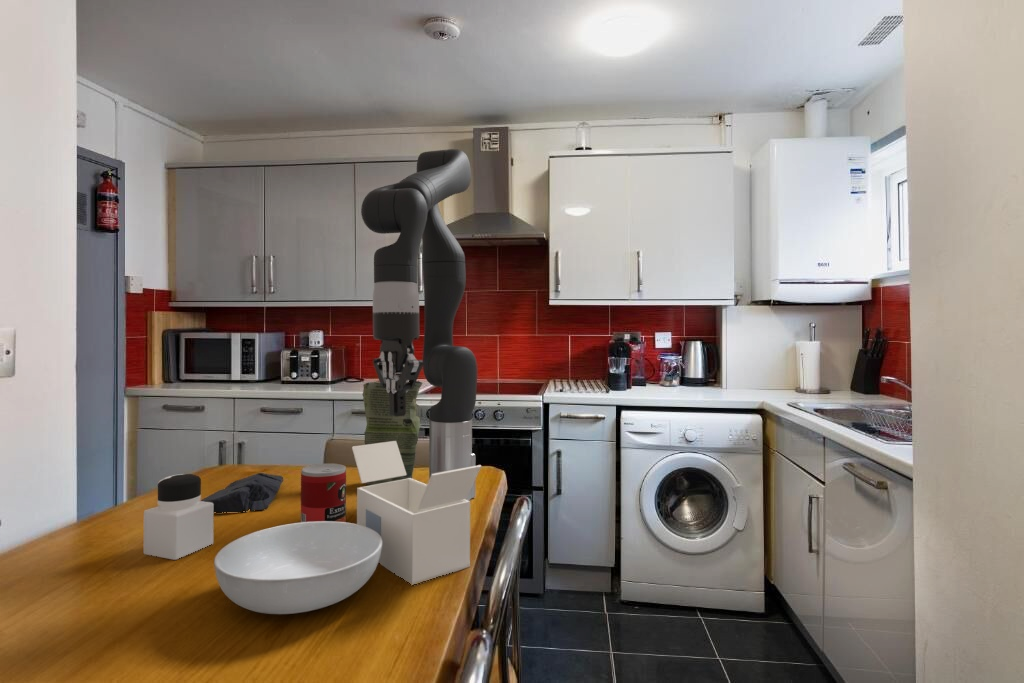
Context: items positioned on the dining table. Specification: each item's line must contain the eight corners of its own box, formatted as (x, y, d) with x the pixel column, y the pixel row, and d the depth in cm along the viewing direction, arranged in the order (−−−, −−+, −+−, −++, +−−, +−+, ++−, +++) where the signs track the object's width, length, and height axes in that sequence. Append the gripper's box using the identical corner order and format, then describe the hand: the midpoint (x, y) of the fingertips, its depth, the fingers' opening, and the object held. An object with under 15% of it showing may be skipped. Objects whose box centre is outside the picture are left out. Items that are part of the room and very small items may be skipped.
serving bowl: (386, 624, 65) (386, 568, 65) (193, 651, 60) (193, 589, 60) (379, 557, 85) (379, 514, 85) (233, 572, 80) (233, 526, 80)
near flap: (417, 508, 76) (418, 509, 76) (431, 473, 73) (432, 475, 73) (465, 497, 81) (466, 498, 81) (480, 464, 79) (481, 466, 78)
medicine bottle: (214, 544, 90) (214, 473, 90) (175, 561, 83) (175, 484, 83) (182, 539, 92) (183, 469, 92) (142, 554, 86) (142, 479, 86)
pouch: (356, 484, 128) (357, 379, 128) (397, 475, 137) (397, 377, 137) (385, 493, 120) (385, 382, 120) (426, 483, 129) (426, 379, 129)
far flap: (406, 474, 95) (406, 475, 95) (396, 440, 98) (395, 441, 98) (362, 482, 89) (361, 483, 90) (352, 446, 92) (351, 447, 92)
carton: (409, 534, 96) (410, 477, 96) (469, 566, 82) (470, 501, 82) (356, 548, 89) (356, 487, 89) (411, 586, 75) (412, 515, 75)
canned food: (332, 537, 94) (332, 474, 94) (291, 533, 96) (291, 471, 96) (353, 522, 101) (354, 464, 101) (315, 519, 103) (315, 462, 103)
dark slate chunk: (294, 485, 129) (294, 465, 129) (264, 515, 107) (264, 491, 107) (227, 487, 127) (227, 467, 127) (182, 518, 105) (182, 494, 105)
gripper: (437, 310, 86) (438, 417, 86) (396, 312, 96) (397, 409, 96) (395, 308, 81) (397, 423, 82) (357, 312, 91) (358, 413, 91)
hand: (397, 415), depth 89 cm, fingers closed
